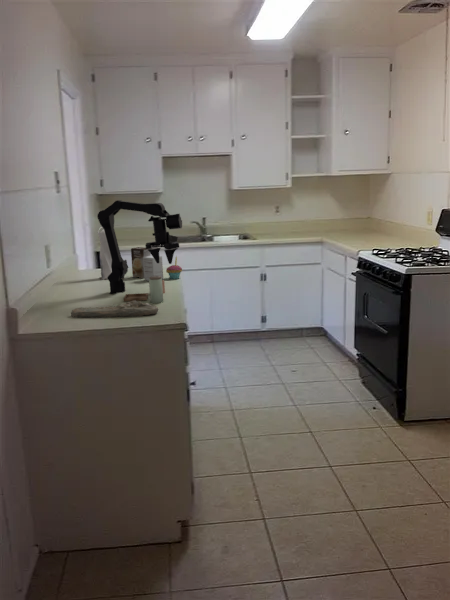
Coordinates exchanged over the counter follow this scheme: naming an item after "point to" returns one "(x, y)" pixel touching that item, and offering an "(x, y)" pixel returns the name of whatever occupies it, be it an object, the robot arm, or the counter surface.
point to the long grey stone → (117, 310)
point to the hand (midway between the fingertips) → (164, 263)
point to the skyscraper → (104, 256)
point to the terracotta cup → (163, 286)
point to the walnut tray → (136, 297)
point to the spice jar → (156, 289)
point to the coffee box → (138, 261)
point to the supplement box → (152, 267)
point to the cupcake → (174, 270)
